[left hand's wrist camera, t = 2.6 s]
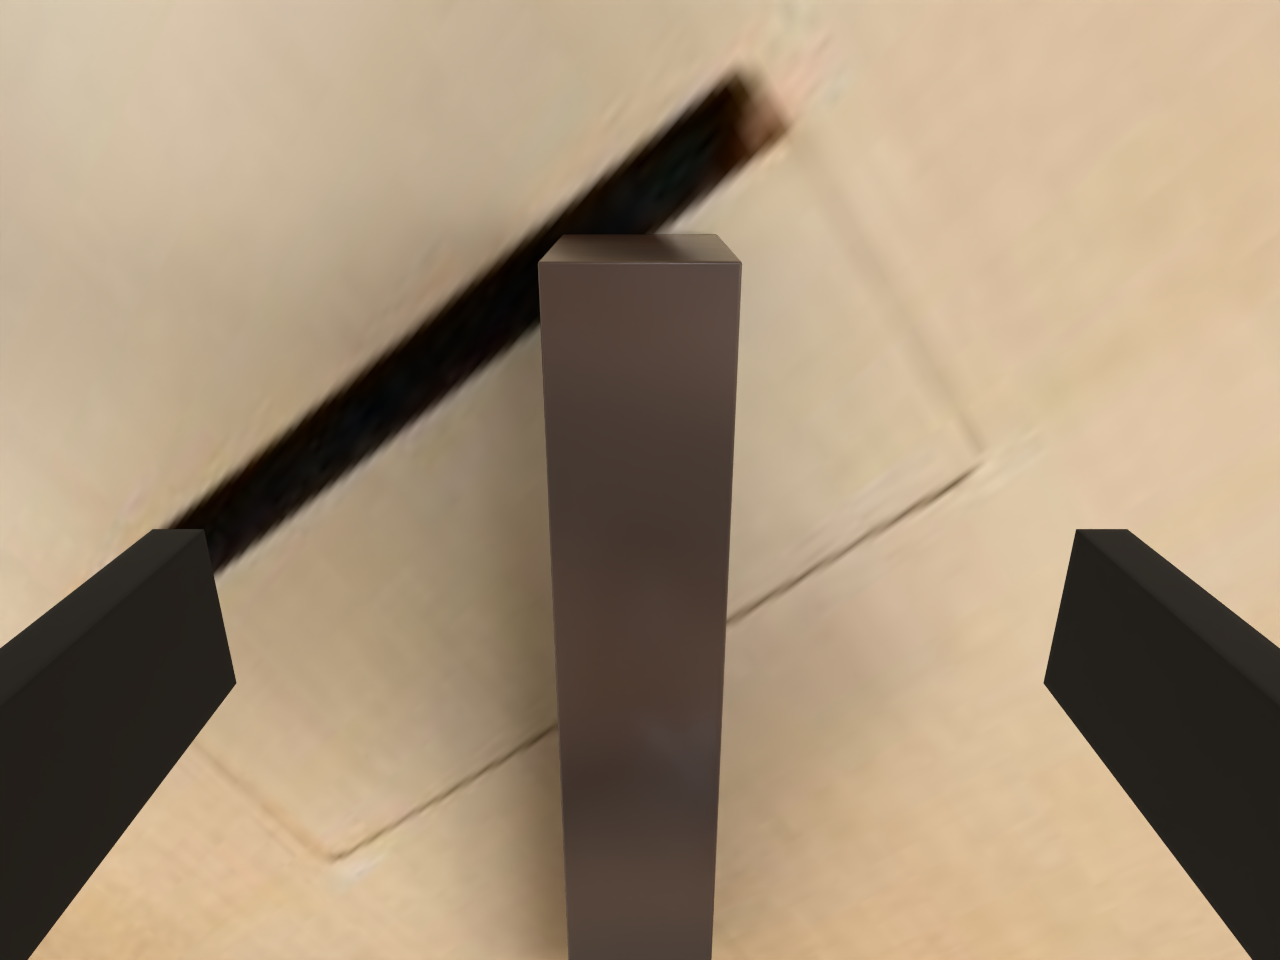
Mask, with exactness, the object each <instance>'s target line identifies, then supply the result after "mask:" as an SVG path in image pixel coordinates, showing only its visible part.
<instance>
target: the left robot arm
mask: <svg viewBox="0 0 1280 960" xmlns="http://www.w3.org/2000/svg"><path fill="white" fill-rule="evenodd" d="M235 684H236V679H235V674H234V670H233V665H232V660H231V655H230V651H229V646H228V641H227V637H226V632H225V627H224V622H223V618H222V613H221V608H220V604H219V599H218V594H217V589H216V585H215V580H214V575H213V571H212V566H211V561H210V556H209V552H208V547H207V542H206V538H205V533H204V529H153V530H151V531H150V532H149V533H147V534H146V535H145V536H144V537H142V538H141V539H140V540H138V541H137V542H136V543H135V544H133V545H132V546H131V547H130V548H128V549H127V550H126V551H124V552H123V553H122V554H121V555H119V556H118V557H117V558H115V559H114V560H113V561H112V562H110V563H109V564H108V565H106V566H105V567H104V568H103V569H101V570H100V571H99V572H98V573H96V574H95V575H94V576H92V577H91V578H90V579H89V580H87V581H86V582H85V583H83V584H82V585H81V586H80V587H78V588H77V589H76V590H74V591H73V592H72V593H71V594H69V595H68V596H67V597H66V598H64V599H63V600H62V601H60V602H59V603H58V604H57V605H55V606H54V607H53V608H51V609H50V610H49V611H48V612H46V613H45V614H44V615H42V616H41V617H40V618H39V619H37V620H36V621H35V622H33V623H32V624H31V625H30V626H28V627H27V628H26V629H25V630H23V631H22V632H21V633H19V634H18V635H17V636H16V637H14V638H13V639H12V640H10V641H9V642H8V643H7V644H5V645H4V646H3V647H1V648H0V960H28V959H29V957H30V956H31V955H32V953H33V952H34V951H35V949H36V948H37V947H38V945H39V944H40V943H41V941H42V940H43V939H44V937H45V936H46V935H47V933H48V932H49V931H50V929H51V928H52V927H53V925H54V924H55V923H56V921H57V920H58V919H59V917H60V916H61V915H62V913H63V912H64V911H65V910H66V908H67V907H68V906H69V904H70V903H71V902H72V900H73V899H74V898H75V896H76V895H77V894H78V892H79V891H80V890H81V888H82V887H83V886H84V884H85V883H86V882H87V880H88V879H89V878H90V876H91V875H92V874H93V872H94V871H95V870H96V868H97V867H98V866H99V864H100V863H101V862H102V861H103V859H104V858H105V857H106V855H107V854H108V853H109V851H110V850H111V849H112V847H113V846H114V845H115V843H116V842H117V841H118V839H119V838H120V837H121V835H122V834H123V833H124V831H125V830H126V829H127V827H128V826H129V825H130V823H131V822H132V821H133V819H134V818H135V817H136V816H137V814H138V813H139V812H140V810H141V809H142V808H143V806H144V805H145V804H146V802H147V801H148V800H149V798H150V797H151V796H152V794H153V793H154V792H155V790H156V789H157V788H158V786H159V785H160V784H161V782H162V781H163V780H164V778H165V777H166V776H167V774H168V773H169V772H170V770H171V769H172V768H173V767H174V765H175V764H176V763H177V761H178V760H179V759H180V757H181V756H182V755H183V753H184V752H185V751H186V749H187V748H188V747H189V745H190V744H191V743H192V741H193V740H194V739H195V737H196V736H197V735H198V733H199V732H200V731H201V729H202V728H203V727H204V725H205V724H206V723H207V721H208V720H209V719H210V718H211V716H212V715H213V714H214V712H215V711H216V710H217V708H218V707H219V706H220V704H221V703H222V702H223V700H224V699H225V698H226V696H227V695H228V694H229V692H230V691H231V690H232V688H233V687H234V686H235ZM1044 684H1045V686H1046V687H1047V688H1048V690H1049V691H1050V692H1051V694H1052V695H1053V696H1054V698H1055V699H1056V700H1057V702H1058V703H1059V704H1060V706H1061V707H1062V708H1063V710H1064V711H1065V712H1066V714H1067V715H1068V716H1069V718H1070V719H1071V720H1072V721H1073V723H1074V724H1075V725H1076V727H1077V728H1078V729H1079V731H1080V732H1081V733H1082V735H1083V736H1084V737H1085V739H1086V740H1087V741H1088V743H1089V744H1090V745H1091V747H1092V748H1093V749H1094V751H1095V752H1096V753H1097V755H1098V756H1099V757H1100V759H1101V760H1102V761H1103V763H1104V764H1105V765H1106V767H1107V768H1108V769H1109V770H1110V772H1111V773H1112V774H1113V776H1114V777H1115V778H1116V780H1117V781H1118V782H1119V784H1120V785H1121V786H1122V788H1123V789H1124V790H1125V792H1126V793H1127V794H1128V796H1129V797H1130V798H1131V800H1132V801H1133V802H1134V804H1135V805H1136V806H1137V808H1138V809H1139V810H1140V812H1141V813H1142V814H1143V816H1144V817H1145V818H1146V819H1147V821H1148V822H1149V823H1150V825H1151V826H1152V827H1153V829H1154V830H1155V831H1156V833H1157V834H1158V835H1159V837H1160V838H1161V839H1162V841H1163V842H1164V843H1165V845H1166V846H1167V847H1168V849H1169V850H1170V851H1171V853H1172V854H1173V855H1174V857H1175V858H1176V859H1177V861H1178V862H1179V863H1180V864H1181V866H1182V867H1183V868H1184V870H1185V871H1186V872H1187V874H1188V875H1189V876H1190V878H1191V879H1192V880H1193V882H1194V883H1195V884H1196V886H1197V887H1198V888H1199V890H1200V891H1201V892H1202V894H1203V895H1204V896H1205V898H1206V899H1207V900H1208V902H1209V903H1210V904H1211V906H1212V907H1213V908H1214V910H1215V911H1216V912H1217V913H1218V915H1219V916H1220V917H1221V919H1222V920H1223V921H1224V923H1225V924H1226V925H1227V927H1228V928H1229V929H1230V931H1231V932H1232V933H1233V935H1234V936H1235V937H1236V939H1237V940H1238V941H1239V943H1240V944H1241V945H1242V947H1243V948H1244V949H1245V951H1246V952H1247V953H1248V955H1249V956H1250V957H1251V959H1252V960H1280V648H1279V647H1277V646H1276V645H1275V644H1273V643H1272V642H1271V641H1270V640H1268V639H1267V638H1266V637H1264V636H1263V635H1262V634H1261V633H1259V632H1258V631H1257V630H1255V629H1254V628H1253V627H1252V626H1250V625H1249V624H1248V623H1247V622H1245V621H1244V620H1243V619H1241V618H1240V617H1239V616H1238V615H1236V614H1235V613H1234V612H1232V611H1231V610H1230V609H1229V608H1227V607H1226V606H1225V605H1223V604H1222V603H1221V602H1220V601H1218V600H1217V599H1216V598H1214V597H1213V596H1212V595H1211V594H1209V593H1208V592H1207V591H1206V590H1204V589H1203V588H1202V587H1200V586H1199V585H1198V584H1197V583H1195V582H1194V581H1193V580H1191V579H1190V578H1189V577H1188V576H1186V575H1185V574H1184V573H1182V572H1181V571H1180V570H1179V569H1177V568H1176V567H1175V566H1174V565H1172V564H1171V563H1170V562H1168V561H1167V560H1166V559H1165V558H1163V557H1162V556H1161V555H1159V554H1158V553H1157V552H1156V551H1154V550H1153V549H1152V548H1150V547H1149V546H1148V545H1147V544H1145V543H1144V542H1143V541H1142V540H1140V539H1139V538H1138V537H1136V536H1135V535H1134V534H1133V533H1131V532H1130V531H1129V530H1127V529H1076V533H1075V538H1074V542H1073V547H1072V552H1071V556H1070V561H1069V566H1068V571H1067V575H1066V580H1065V585H1064V589H1063V594H1062V599H1061V604H1060V608H1059V613H1058V618H1057V622H1056V627H1055V632H1054V637H1053V641H1052V646H1051V651H1050V655H1049V660H1048V665H1047V670H1046V674H1045V679H1044Z"/></svg>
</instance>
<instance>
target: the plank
mask: <svg viewBox="0 0 1280 960" xmlns="http://www.w3.org/2000/svg"><path fill="white" fill-rule="evenodd" d="M741 274H742V263H741V261H740V260H739V259H738V258H737V257H736V256H735V254H734V253H733V252H732V251H731V250H730V249H729V248H728V247H727V245H726V244H725V243H724V242H723V241H722V240H721V239H720V238H719V237H718V235H716V234H564V235H562V237H561V238H560V239H559V240H558V241H557V242H556V243H555V244H554V245H553V247H552V248H551V249H550V250H549V251H548V252H547V253H546V254H545V255H544V257H543V258H542V259H541V260H540V261H539V262H538V275H539V298H540V320H541V343H542V366H543V389H544V411H545V434H546V457H547V480H548V502H549V525H550V548H551V571H552V594H553V616H554V639H555V662H556V685H557V707H558V730H559V753H560V776H561V798H562V821H563V844H564V867H565V889H566V912H567V935H568V958H569V960H711V957H712V934H713V912H714V889H715V866H716V843H717V820H718V798H719V775H720V752H721V729H722V707H723V684H724V661H725V638H726V616H727V593H728V570H729V547H730V524H731V502H732V479H733V456H734V433H735V411H736V388H737V365H738V342H739V319H740V297H741Z"/></svg>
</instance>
